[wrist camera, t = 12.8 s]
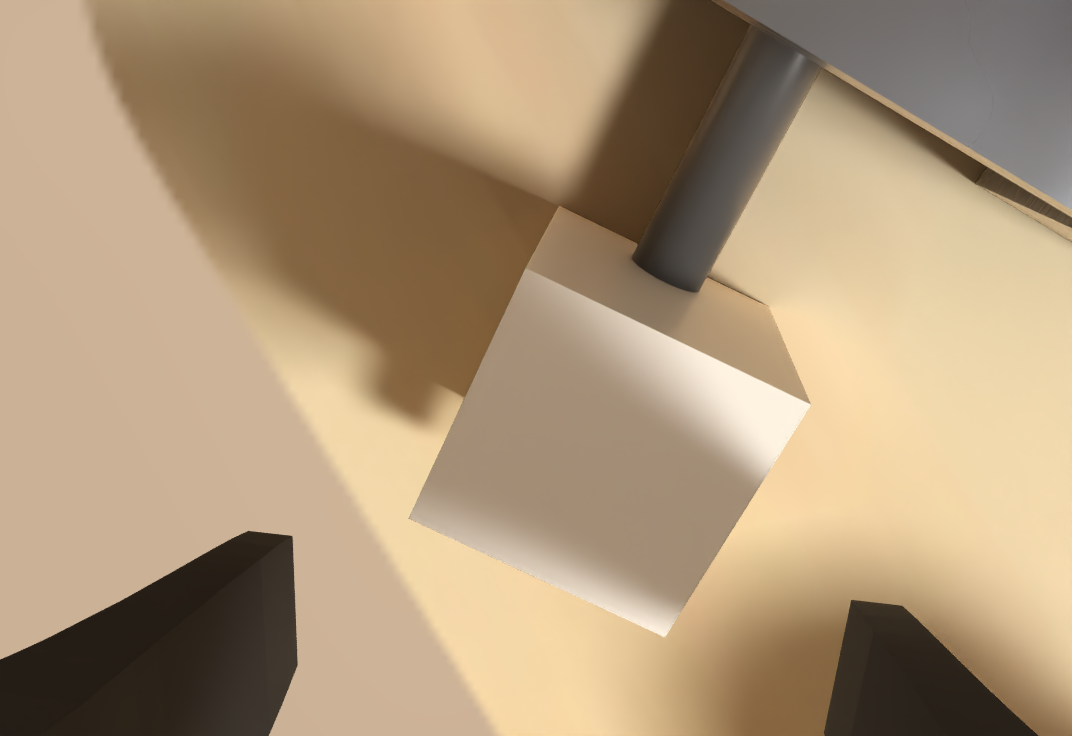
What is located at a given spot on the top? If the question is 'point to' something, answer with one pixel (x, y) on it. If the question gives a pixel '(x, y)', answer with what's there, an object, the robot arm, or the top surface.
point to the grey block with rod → (633, 381)
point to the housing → (955, 79)
